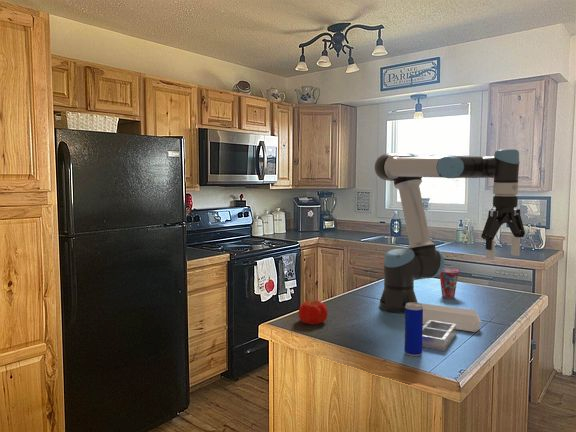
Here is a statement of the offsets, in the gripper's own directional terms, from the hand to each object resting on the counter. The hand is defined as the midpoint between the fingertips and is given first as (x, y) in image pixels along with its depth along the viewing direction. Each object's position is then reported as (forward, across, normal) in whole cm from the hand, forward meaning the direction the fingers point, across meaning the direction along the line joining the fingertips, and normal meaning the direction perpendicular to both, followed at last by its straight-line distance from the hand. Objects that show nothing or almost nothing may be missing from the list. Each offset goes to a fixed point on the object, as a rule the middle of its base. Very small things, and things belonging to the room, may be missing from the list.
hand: (502, 257), depth 153 cm
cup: (+26, +18, +38) cm, 49 cm away
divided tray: (+25, -28, +4) cm, 37 cm away
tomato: (+26, -52, +39) cm, 70 cm away
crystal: (+26, -14, +12) cm, 32 cm away
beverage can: (+25, -42, -1) cm, 49 cm away
